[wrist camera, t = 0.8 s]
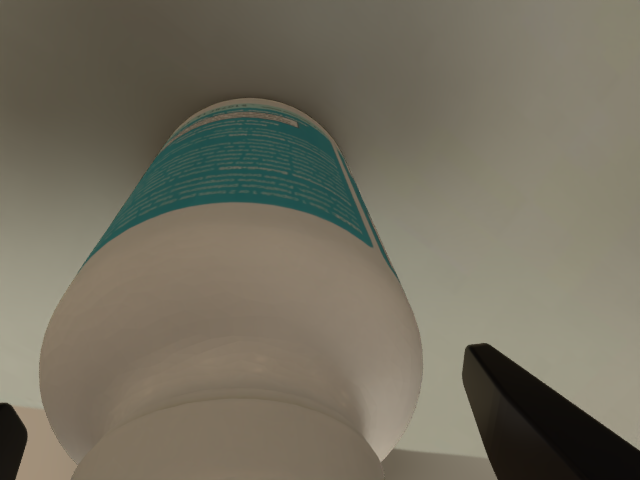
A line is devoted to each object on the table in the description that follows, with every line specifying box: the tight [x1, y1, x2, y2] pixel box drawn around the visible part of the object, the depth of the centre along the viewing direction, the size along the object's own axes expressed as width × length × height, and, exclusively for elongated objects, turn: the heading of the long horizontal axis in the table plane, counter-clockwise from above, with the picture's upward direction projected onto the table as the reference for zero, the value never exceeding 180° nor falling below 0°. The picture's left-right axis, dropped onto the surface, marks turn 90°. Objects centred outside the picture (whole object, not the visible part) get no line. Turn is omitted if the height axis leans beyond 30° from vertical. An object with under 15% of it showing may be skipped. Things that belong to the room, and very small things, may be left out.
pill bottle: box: [39, 98, 423, 480], centre depth 12 cm, size 8×7×14 cm
